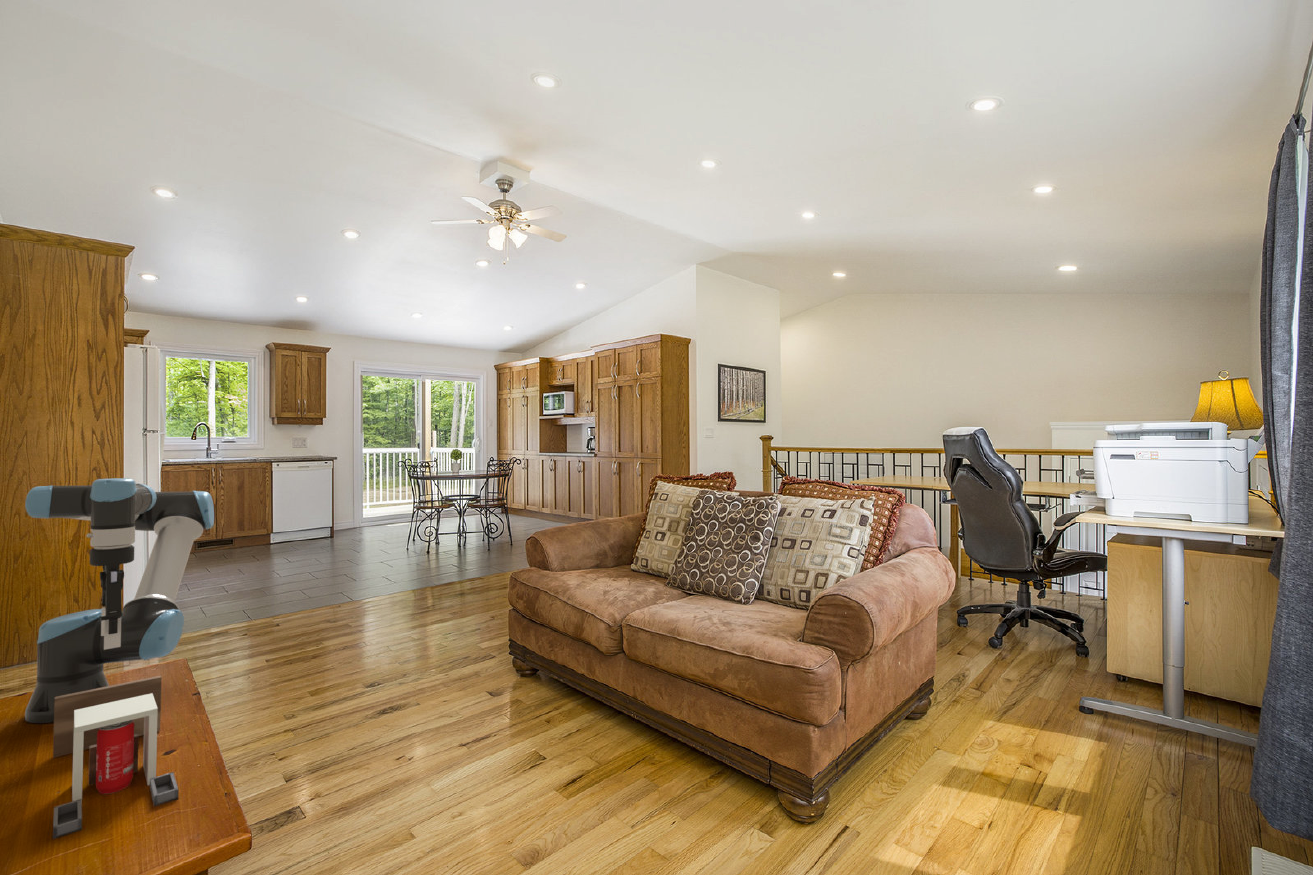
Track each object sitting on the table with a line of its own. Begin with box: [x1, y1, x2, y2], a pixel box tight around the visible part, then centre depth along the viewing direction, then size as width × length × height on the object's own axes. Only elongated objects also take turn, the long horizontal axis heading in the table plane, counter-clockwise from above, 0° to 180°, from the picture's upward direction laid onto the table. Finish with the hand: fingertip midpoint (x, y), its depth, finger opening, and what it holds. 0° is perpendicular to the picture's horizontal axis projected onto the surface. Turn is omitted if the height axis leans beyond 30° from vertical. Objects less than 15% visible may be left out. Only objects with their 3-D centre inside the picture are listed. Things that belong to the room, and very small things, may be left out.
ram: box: [52, 675, 162, 786], centre depth 122 cm, size 20×17×12 cm
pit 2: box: [149, 771, 179, 807], centre depth 110 cm, size 8×3×2 cm, turn 45°
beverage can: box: [95, 720, 134, 795], centre depth 112 cm, size 5×5×12 cm
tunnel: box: [71, 693, 158, 804], centre depth 113 cm, size 10×11×14 cm
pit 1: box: [52, 799, 83, 840], centre depth 101 cm, size 8×3×2 cm, turn 45°
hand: (110, 641), depth 135 cm, fingers open, 12 cm apart
